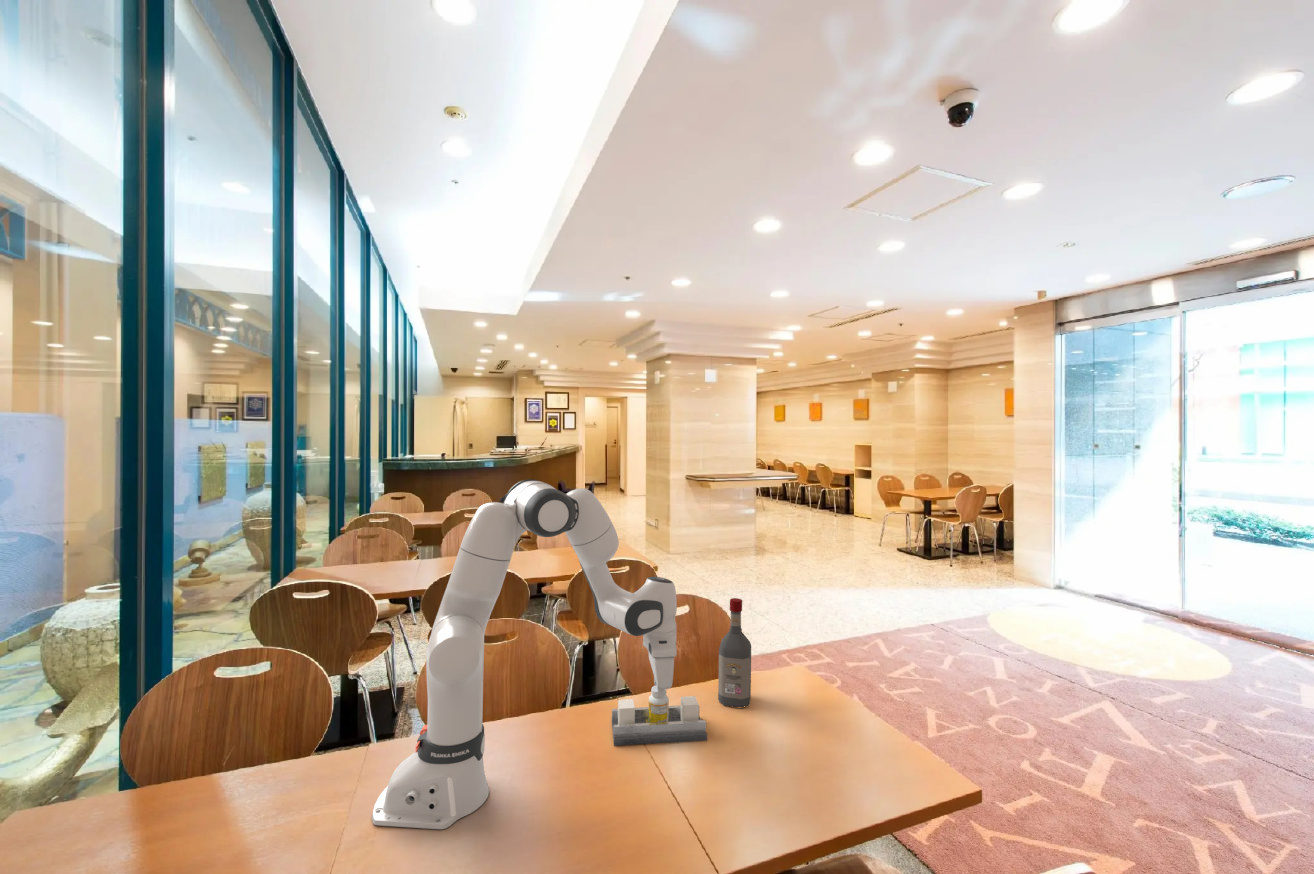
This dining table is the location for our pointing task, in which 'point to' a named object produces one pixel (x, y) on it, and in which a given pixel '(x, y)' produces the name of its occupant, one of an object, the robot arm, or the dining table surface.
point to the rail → (657, 729)
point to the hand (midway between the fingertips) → (659, 690)
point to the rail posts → (687, 713)
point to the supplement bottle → (658, 707)
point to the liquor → (735, 662)
